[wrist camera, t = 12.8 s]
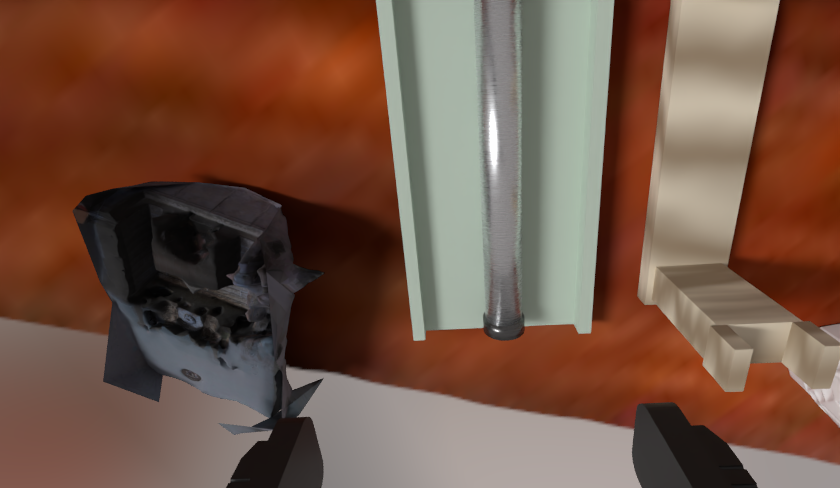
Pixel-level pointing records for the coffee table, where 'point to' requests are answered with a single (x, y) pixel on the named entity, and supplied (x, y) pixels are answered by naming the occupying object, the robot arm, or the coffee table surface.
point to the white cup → (836, 399)
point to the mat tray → (460, 162)
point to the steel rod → (500, 162)
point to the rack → (717, 198)
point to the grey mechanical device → (197, 292)
